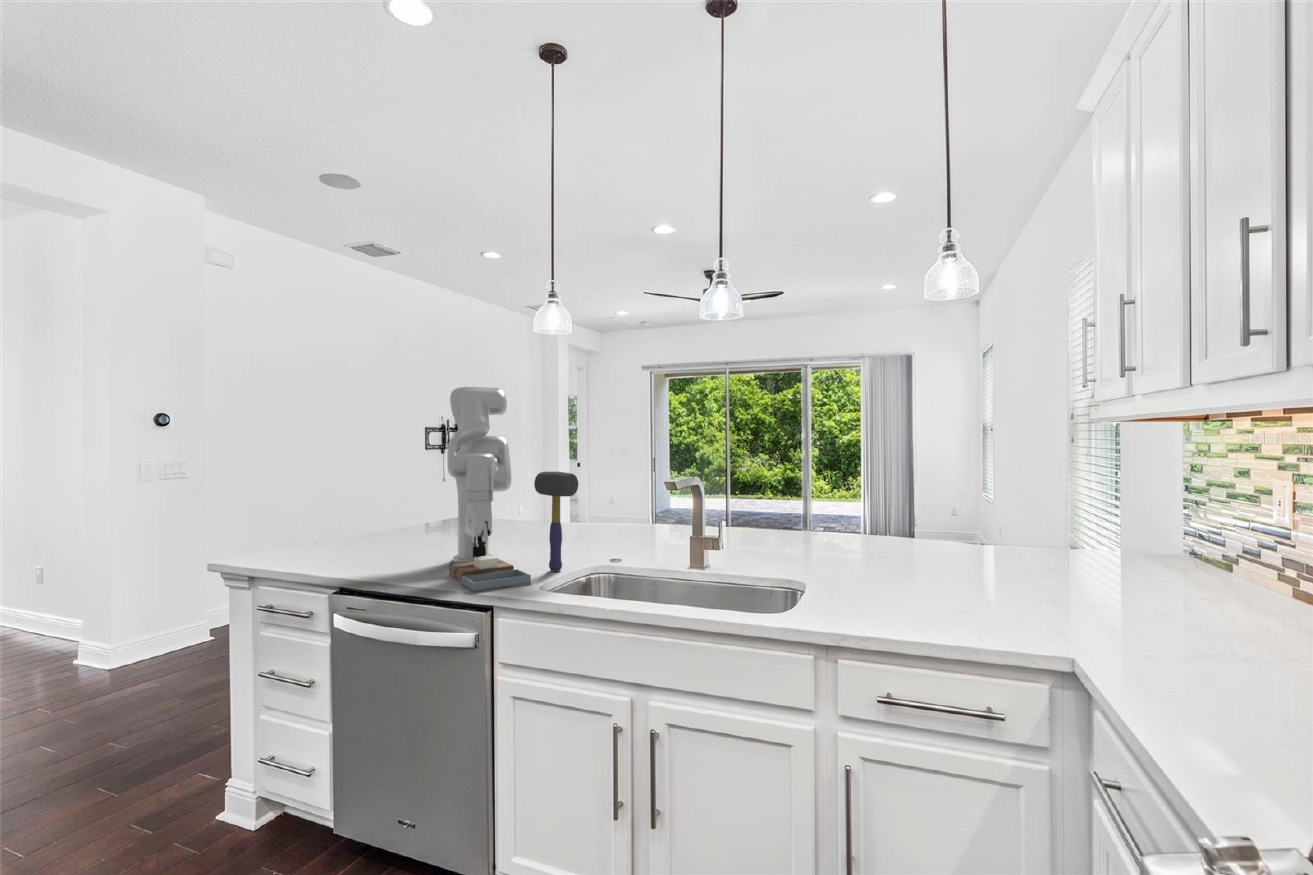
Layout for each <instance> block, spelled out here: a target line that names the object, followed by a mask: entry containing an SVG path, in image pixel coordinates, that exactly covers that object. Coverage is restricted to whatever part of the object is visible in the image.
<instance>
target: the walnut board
mask: <svg viewBox="0 0 1313 875" xmlns="http://www.w3.org/2000/svg"><path fill="white" fill-rule="evenodd" d="M448 566H449V568H448V569H449V570H448V572H449V573H448V574H449V576H450V577H452V578H453V577H454V578H453V579H455V580H457V581H458V582H460V583H461V584H462V576H468V575H476V574H484V573H492V572H499V571H507V570H515V569H514V565H513V564H511V563H508V562H506V561H504V560H501V559H499V558H497V567H493V568H485V569H479V568H477V567H475V566H474V560H473V561H464V562H450V563H449V565H448Z"/></svg>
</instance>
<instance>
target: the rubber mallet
mask: <svg viewBox="0 0 1313 875" xmlns="http://www.w3.org/2000/svg"><path fill="white" fill-rule="evenodd" d="M533 485H534V489H535V491H536V493H538V494H539V495H544V496H550V497H551V522H550V526H549V527H550V528H549V539H548V540H549V546H550V553H549V556H550V557H549V562H548V567H549V570H550V571H551V572H554V573H556V572H560V571H561V569H562V567H563V562H562V541H563V531H562V523H561V497H572V496H574V495H575V494H576V493H577V491H578V489H579V480H578V477H577V475H575V474H574V473H569V472H564V471H563V472H562V471H541V472H539V473H538V474H537V475H536V477H535V479H534V484H533Z"/></svg>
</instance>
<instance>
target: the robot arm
mask: <svg viewBox="0 0 1313 875" xmlns="http://www.w3.org/2000/svg"><path fill="white" fill-rule="evenodd" d="M449 399H450V400H449V402H450V403H449V404H450V409H451V413H452V416H453V419H454V421H455V423H456V425H457V429H458V430H457V431H455V433H454V434H453V435H452V436H451V437H450V440H449V442H448V445H447V450H446V451H447V453H446V454H447V455H446V456H447V471H448V474H449V475H450V476H451V477H452V478H455V484H456V490H457V491H456V492H457V514H458V515H457V517H458V518H457V522H458V523H457V555H454V556H453V557H452V562H453V563H455V562H464V561H473V560H474V557H480V556H489V555H491V556H493V557H494V555H493V554H491V553H489V537H491V536H492V533H493V511H492V510H493V509H492V502H493V501H494V492H495V493H496V492H506V491H507V490H509V489H510V488H511V485H512V468H511V458H510V449H509V443H508V441H507V439H506V438H505V437H503V436H499V435H488V433H490V432H489V431H490V417H489V416H502V415H504V414H505V413H506V411H507V407H508V403H507V402H508V401H507V396H506V394H505V391H504V390H503V389H502V388H499V387H490V386H489V387H486V386H485V387H484V386H483V387H482V386H460V387H456V388H455V389H453V390H451V393H450V398H449ZM458 450H459V452H457V451H458Z"/></svg>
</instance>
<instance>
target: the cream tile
mask: <svg viewBox="0 0 1313 875" xmlns="http://www.w3.org/2000/svg"><path fill="white" fill-rule="evenodd" d="M497 559H498V558H497V557H495V556H494V555H493V556H491V555H489V556H480V557H474V566H475V567H477V568H479V569H485V568H493V567H497Z"/></svg>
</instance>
